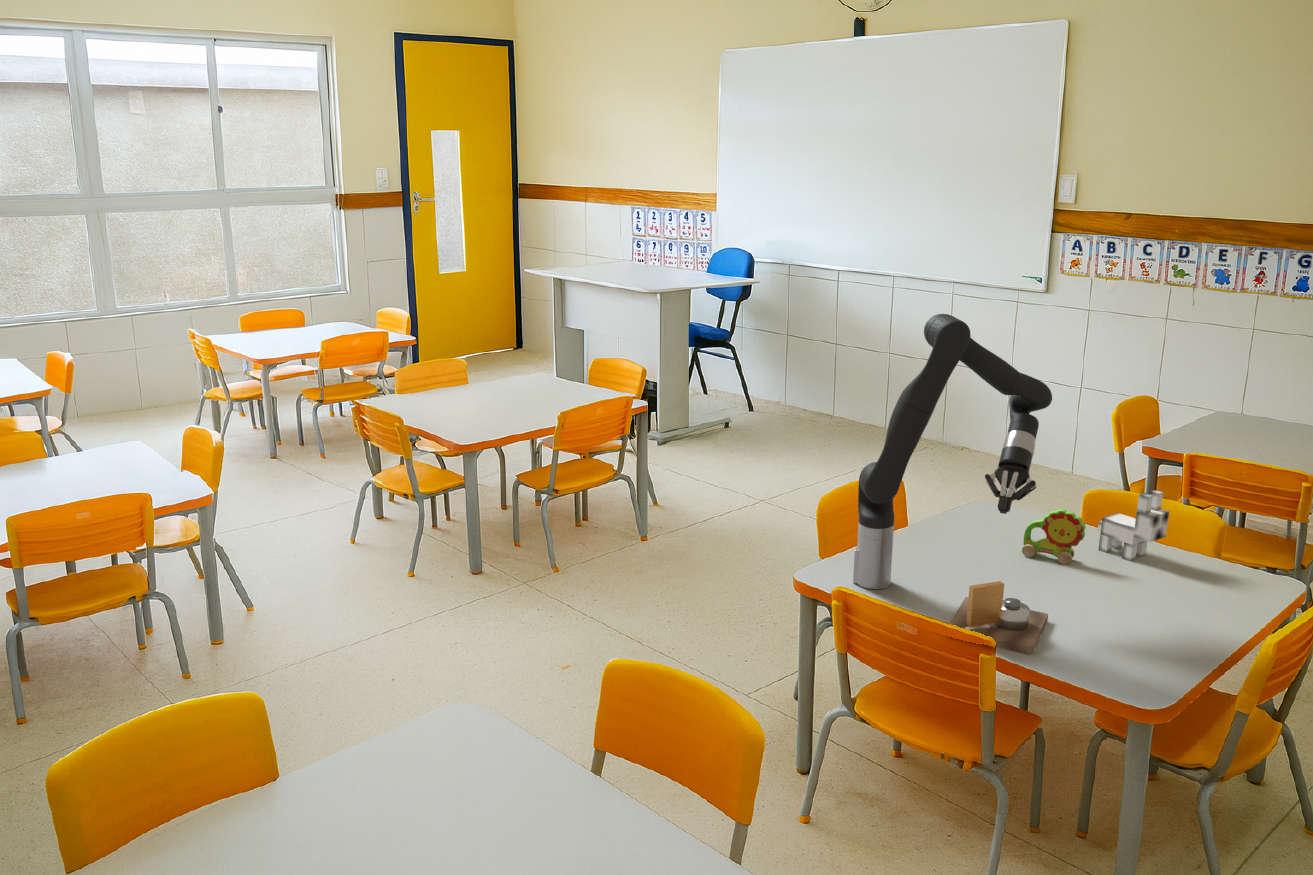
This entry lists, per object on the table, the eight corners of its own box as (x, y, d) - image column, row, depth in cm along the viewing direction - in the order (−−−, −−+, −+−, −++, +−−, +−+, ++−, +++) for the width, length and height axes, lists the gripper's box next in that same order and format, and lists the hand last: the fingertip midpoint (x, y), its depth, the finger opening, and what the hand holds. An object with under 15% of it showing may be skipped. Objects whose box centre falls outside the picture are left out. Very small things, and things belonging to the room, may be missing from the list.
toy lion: (1020, 556, 285) (1025, 506, 281) (1024, 550, 289) (1029, 501, 285) (1079, 567, 276) (1085, 516, 272) (1082, 561, 281) (1088, 511, 277)
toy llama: (1106, 542, 295) (1114, 478, 289) (1162, 561, 280) (1171, 494, 275) (1090, 547, 291) (1098, 482, 285) (1146, 567, 277) (1156, 499, 271)
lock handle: (1014, 612, 244) (1018, 571, 241) (1035, 627, 237) (1039, 584, 234) (958, 622, 240) (961, 580, 237) (977, 636, 232) (981, 593, 229)
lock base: (945, 635, 238) (945, 626, 238) (965, 603, 255) (966, 595, 254) (1032, 655, 228) (1033, 646, 228) (1047, 621, 245) (1048, 612, 244)
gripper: (989, 441, 253) (973, 501, 246) (1043, 448, 246) (1029, 509, 240) (992, 456, 259) (977, 514, 252) (1045, 462, 252) (1032, 523, 245)
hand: (1002, 512), depth 246 cm, fingers closed
